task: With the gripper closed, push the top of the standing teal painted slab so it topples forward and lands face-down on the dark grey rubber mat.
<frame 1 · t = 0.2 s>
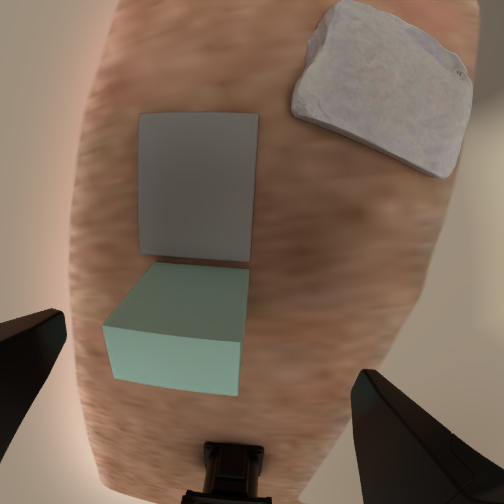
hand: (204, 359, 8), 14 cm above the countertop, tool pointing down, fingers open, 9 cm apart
slab: (200, 287, 23), on the countertop
mat: (194, 186, 21), on the countertop
stone block: (382, 85, 18), on the countertop
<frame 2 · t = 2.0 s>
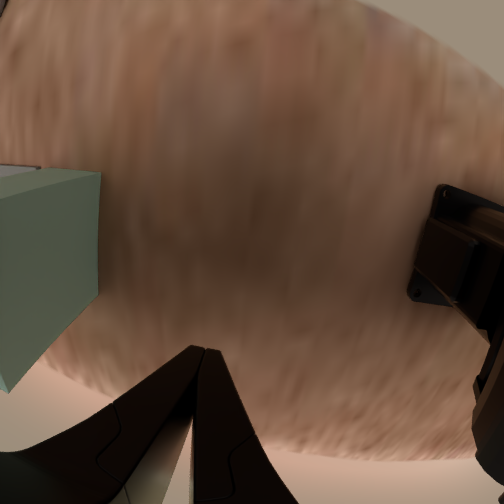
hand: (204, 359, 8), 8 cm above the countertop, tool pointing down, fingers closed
slab: (71, 232, 16), on the countertop
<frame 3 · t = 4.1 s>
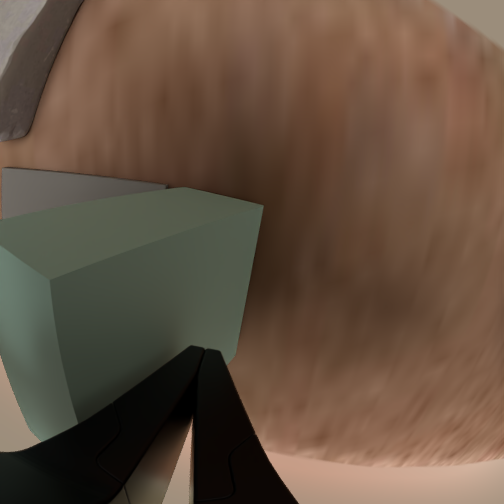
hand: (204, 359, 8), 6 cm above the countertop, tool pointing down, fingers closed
slab: (209, 275, 14), point 1 cm above the countertop, tilted 20°
mat: (71, 251, 14), on the countertop
stone block: (17, 35, 11), on the countertop
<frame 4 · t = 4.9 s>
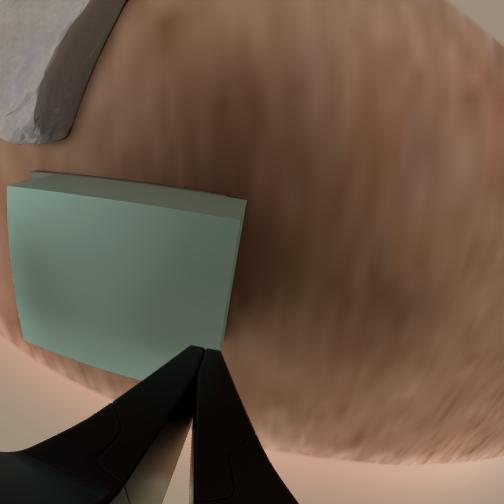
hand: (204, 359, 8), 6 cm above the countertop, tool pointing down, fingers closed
slab: (228, 299, 12), point 2 cm above the countertop, tilted 90°, touching mat
mat: (112, 262, 14), on the countertop
stone block: (48, 28, 11), on the countertop
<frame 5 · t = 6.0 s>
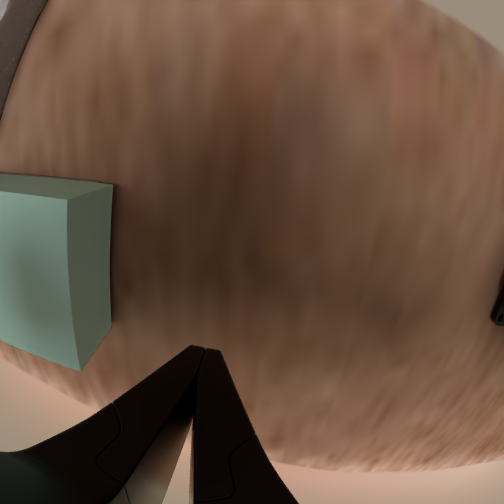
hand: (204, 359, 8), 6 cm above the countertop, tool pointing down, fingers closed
slab: (91, 278, 12), point 2 cm above the countertop, tilted 90°, touching mat
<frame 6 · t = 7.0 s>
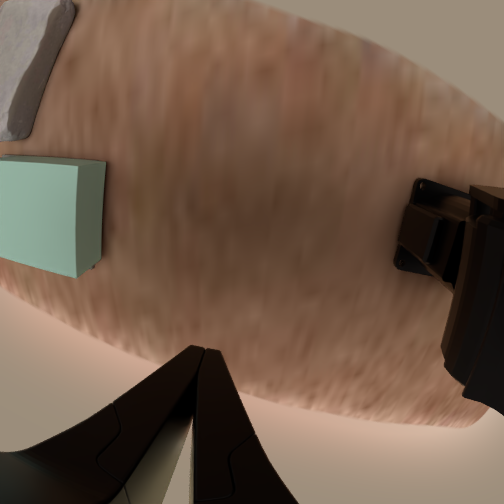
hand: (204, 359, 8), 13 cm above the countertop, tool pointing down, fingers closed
slab: (89, 218, 18), point 2 cm above the countertop, tilted 90°, touching mat
stone block: (19, 66, 17), on the countertop
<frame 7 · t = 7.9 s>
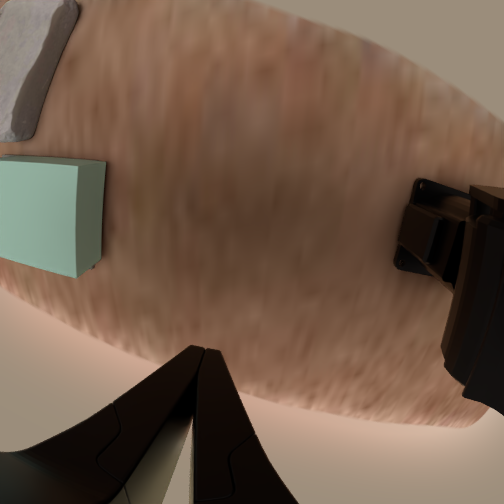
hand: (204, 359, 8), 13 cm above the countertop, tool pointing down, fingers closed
slab: (89, 218, 18), point 2 cm above the countertop, tilted 90°, touching mat
stone block: (21, 66, 17), on the countertop
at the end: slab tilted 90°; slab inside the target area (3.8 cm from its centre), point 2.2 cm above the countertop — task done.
